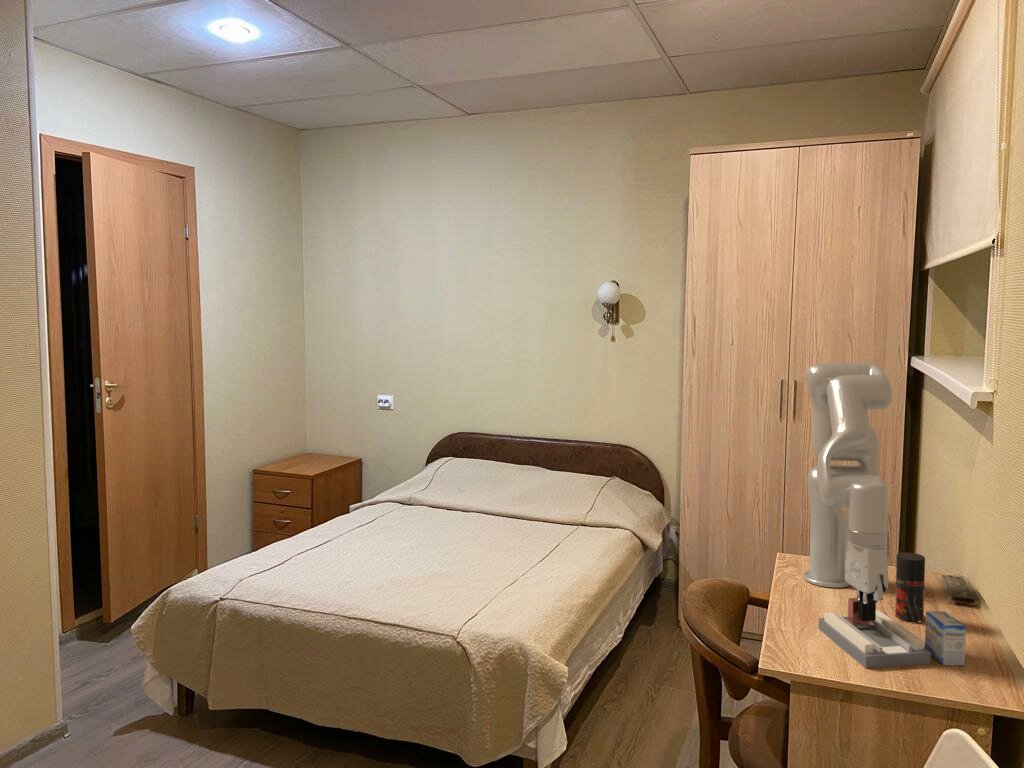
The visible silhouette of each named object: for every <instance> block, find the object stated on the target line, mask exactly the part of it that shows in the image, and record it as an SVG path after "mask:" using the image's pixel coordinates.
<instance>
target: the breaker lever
mask: <svg viewBox="0 0 1024 768" xmlns="http://www.w3.org/2000/svg"><path fill="white" fill-rule="evenodd" d="M847 602H848V603H847V606H848V607H847V616H842V617H843V618H844V619H845V620H847V621H848V622H849V623H851V624H852V625H853V626H855V627H856V628H857V629H858V628H874V627H876V625H875V624H874V623H872V622H871V621H862V620H861V619H859V618H858V600H857V597H852V598H851V597H849V598H848V601H847Z"/></svg>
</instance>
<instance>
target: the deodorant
mask: <svg viewBox="0 0 1024 768" xmlns="http://www.w3.org/2000/svg"><path fill="white" fill-rule="evenodd" d="M895 563H896V564H895V565H896V567H895V568H896V569H895V570H896V572H895V573H896V574H895V607H894V608H895V609H894V610H895V611H894V612H895V613H894V616H895V618H896V617H897V618H898V619H897V618H896V619H897V620H899V619H900V620H899V621H902V622H905V621H906V622H905V623H910V622H918V621H922V620H923V621H924V617H925V615H924V612H925V610H924V609H925V604H924V603H925V578H926V577H925V573H926V572H925V571H926V557H925V556H924V555H922V554H920V553H914V552H908V551H907V552H898V553H896V562H895ZM923 621H922V622H923Z"/></svg>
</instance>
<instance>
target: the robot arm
mask: <svg viewBox="0 0 1024 768" xmlns="http://www.w3.org/2000/svg"><path fill="white" fill-rule="evenodd" d="M805 382H806V383H805V384H806V389H807V392H808V395H809V398H810V400H811V404H812V407H813V451H814V454H815V456H816V457H817V461H816V466H813V467H812V468H811V469H810V470H809V471H808V473H807V478H806V479H807V483H806V484H807V490H808V494H809V495H808V497H809V509H810V510H809V511H810V517H809V518H810V523H809V527H810V528H809V533H810V534H809V558H808V560H807V563H809V569H808V570H806V571H804V572H803V579H804V580H805V581H806V582H808V583H810V584H812V585H816V586H819V587H825V588H848V587H850V586H852V587H853V588H854V590H855V591H856V593H855V594H856V598H857V600H858V618H859V619H861V620H862V621H875V619H876V610H877V603H878V602H880V601H884V594H886V593H887V592H888V588H889V564H888V553H887V548H886V547H888V544H887V542H888V539H887V538H888V535H887V534H888V531H887V530H888V488H887V485H886V484H887V483H885V481H883V479H882V477H880V475H879V473H880V472H879V470H880V469H879V468H880V465H879V464H880V441H879V438H878V434H877V431H876V430H875V429H874V428H873V427H871V423H870V417H869V416H870V415H869V410H886V409H888V408H889V407H890V406H891V404H892V401H893V389H892V385H891V381H890V380H889V378H888V376H887V375H886V373H885V372H884V371H883V370H882V369H881V367H879V365H877V364H876V363H875V362H874V363H872V362H822V363H817V364H812V365H811V366H809V367H808V368H807V370H806V374H805ZM831 461H832V462H834V461H835V462H836V461H837V462H845V461H846V462H857V463H858V465H843V464H831ZM844 508H849V511H848V513H849V514H847V513H846V510H844ZM848 516H849V517H848Z"/></svg>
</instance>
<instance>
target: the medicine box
mask: <svg viewBox="0 0 1024 768" xmlns="http://www.w3.org/2000/svg"><path fill="white" fill-rule="evenodd" d="M966 631H967V627H966V625H965V624H963V623H962V622H960V621H959V620H958V619H956V618H955V617H954V616H952V615H951V614H950V613H948V612H947V611H943V610H942V611H941V610H938V611H937V610H936V611H935V610H929V611H926V613H925V631H924V633H925V634H924V648H925V649H927V650H928V651H930V652H931V657H933V658H934V659H935V660H937V661H938V662H939V663H940V664H941V665H942V666H944V665H963V666H965V658H966V639H967V638H966V634H967V632H966Z"/></svg>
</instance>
